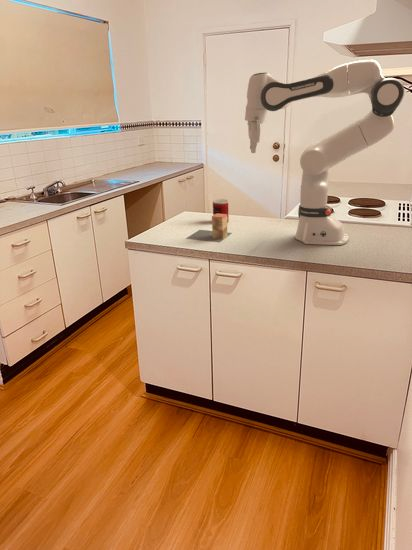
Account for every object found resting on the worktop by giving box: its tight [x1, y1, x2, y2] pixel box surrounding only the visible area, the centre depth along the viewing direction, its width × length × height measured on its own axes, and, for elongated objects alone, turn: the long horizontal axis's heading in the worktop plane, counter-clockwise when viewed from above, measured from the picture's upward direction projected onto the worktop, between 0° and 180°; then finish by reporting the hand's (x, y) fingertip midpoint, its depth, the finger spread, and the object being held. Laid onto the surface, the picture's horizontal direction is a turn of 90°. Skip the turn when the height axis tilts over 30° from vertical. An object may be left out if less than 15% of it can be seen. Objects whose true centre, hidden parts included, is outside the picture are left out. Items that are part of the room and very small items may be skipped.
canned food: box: [212, 198, 230, 224], centre depth 205 cm, size 8×8×11 cm
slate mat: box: [185, 229, 233, 243], centre depth 187 cm, size 17×14×1 cm
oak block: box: [211, 213, 228, 240], centre depth 182 cm, size 5×5×10 cm
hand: (252, 151), depth 174 cm, fingers open, 8 cm apart
